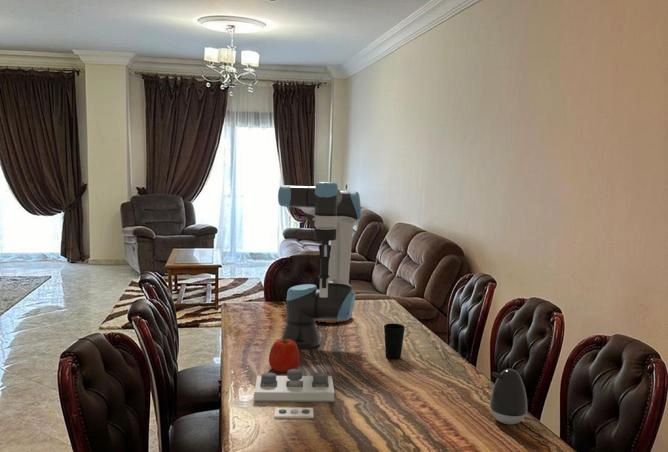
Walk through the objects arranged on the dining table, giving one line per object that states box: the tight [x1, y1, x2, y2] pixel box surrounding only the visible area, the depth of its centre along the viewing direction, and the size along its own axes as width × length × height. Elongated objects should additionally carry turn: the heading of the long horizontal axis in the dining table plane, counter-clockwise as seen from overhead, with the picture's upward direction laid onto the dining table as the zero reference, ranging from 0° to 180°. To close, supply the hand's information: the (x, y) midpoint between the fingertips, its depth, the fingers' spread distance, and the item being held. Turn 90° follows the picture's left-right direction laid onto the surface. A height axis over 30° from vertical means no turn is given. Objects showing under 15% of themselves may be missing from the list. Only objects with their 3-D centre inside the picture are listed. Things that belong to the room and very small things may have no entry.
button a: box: [312, 372, 329, 387], centre depth 187 cm, size 5×5×5 cm
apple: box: [268, 339, 301, 373], centre depth 208 cm, size 11×11×11 cm
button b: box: [286, 368, 303, 387], centre depth 186 cm, size 5×5×5 cm
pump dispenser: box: [489, 368, 528, 425], centre depth 170 cm, size 10×10×15 cm
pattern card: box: [274, 407, 315, 419], centre depth 171 cm, size 6×11×1 cm, turn 93°
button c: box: [260, 372, 277, 387], centre depth 186 cm, size 5×5×5 cm
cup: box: [383, 322, 406, 361], centre depth 223 cm, size 8×8×12 cm
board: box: [253, 375, 335, 403], centre depth 186 cm, size 14×24×3 cm, turn 93°
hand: (323, 296), depth 203 cm, fingers closed
